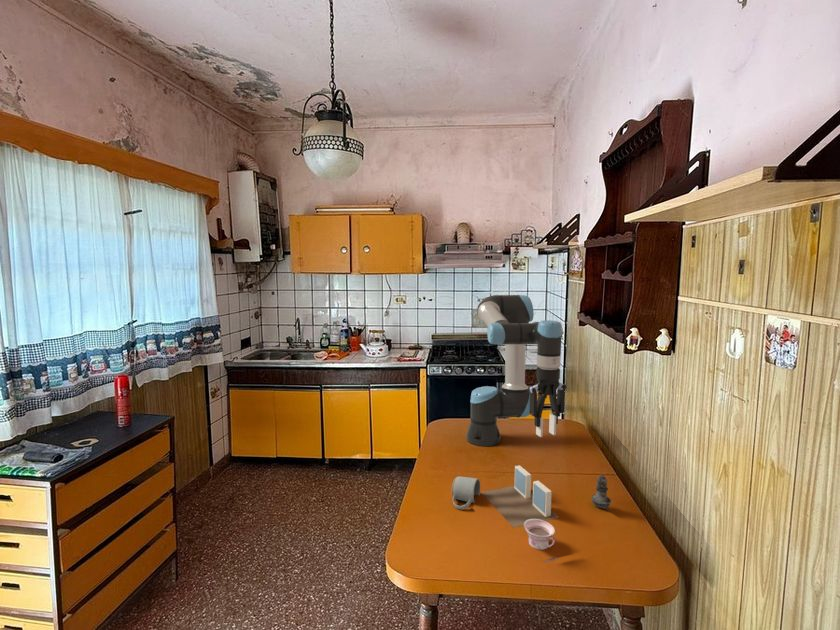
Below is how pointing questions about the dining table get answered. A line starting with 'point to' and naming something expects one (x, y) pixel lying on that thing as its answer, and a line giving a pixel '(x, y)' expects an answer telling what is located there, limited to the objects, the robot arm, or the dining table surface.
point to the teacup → (540, 534)
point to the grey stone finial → (601, 494)
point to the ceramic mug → (465, 490)
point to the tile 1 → (522, 481)
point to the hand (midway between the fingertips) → (545, 434)
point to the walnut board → (515, 506)
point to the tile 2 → (542, 498)
